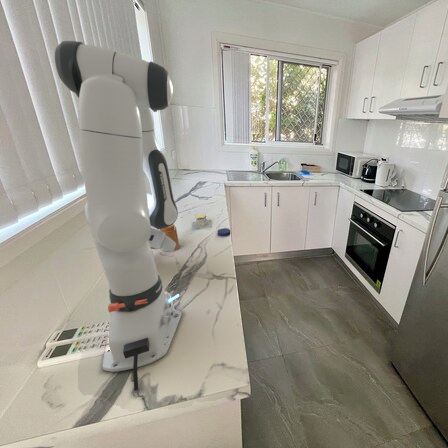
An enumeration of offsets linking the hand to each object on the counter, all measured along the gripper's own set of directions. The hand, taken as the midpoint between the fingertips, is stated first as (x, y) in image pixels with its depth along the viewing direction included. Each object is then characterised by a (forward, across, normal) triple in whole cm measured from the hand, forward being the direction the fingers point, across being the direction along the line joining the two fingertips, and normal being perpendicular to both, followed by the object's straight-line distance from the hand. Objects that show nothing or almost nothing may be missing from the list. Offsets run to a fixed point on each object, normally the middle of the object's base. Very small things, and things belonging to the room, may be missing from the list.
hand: (157, 246), depth 99 cm
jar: (+13, -1, +3) cm, 14 cm away
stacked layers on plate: (+33, -1, +23) cm, 40 cm away
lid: (+24, +16, +19) cm, 35 cm away
